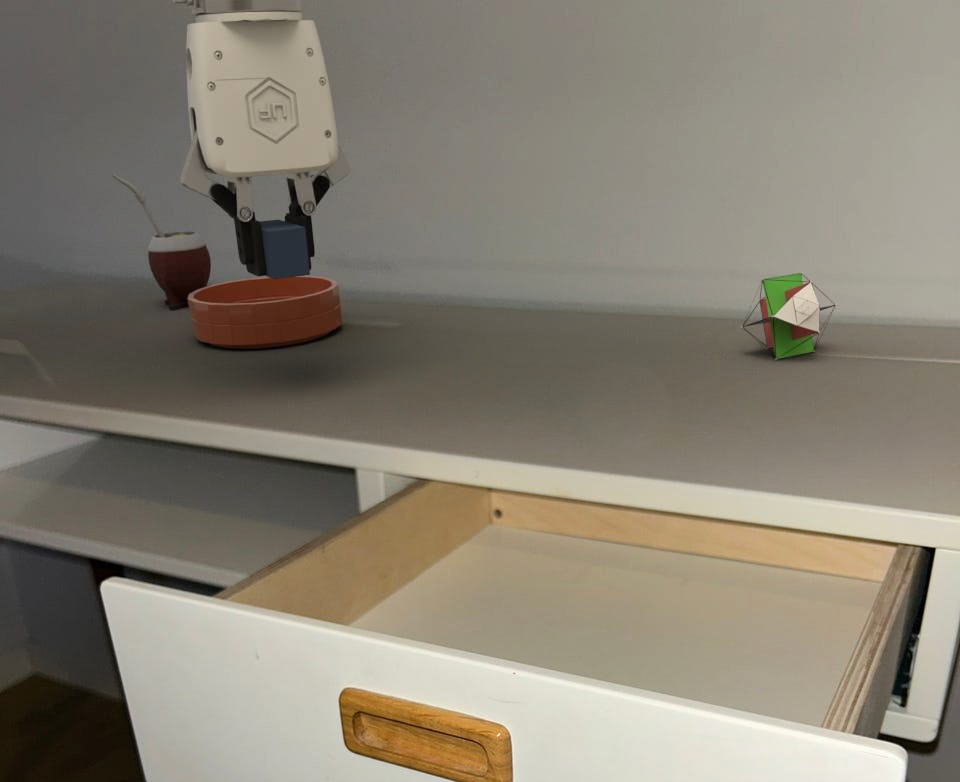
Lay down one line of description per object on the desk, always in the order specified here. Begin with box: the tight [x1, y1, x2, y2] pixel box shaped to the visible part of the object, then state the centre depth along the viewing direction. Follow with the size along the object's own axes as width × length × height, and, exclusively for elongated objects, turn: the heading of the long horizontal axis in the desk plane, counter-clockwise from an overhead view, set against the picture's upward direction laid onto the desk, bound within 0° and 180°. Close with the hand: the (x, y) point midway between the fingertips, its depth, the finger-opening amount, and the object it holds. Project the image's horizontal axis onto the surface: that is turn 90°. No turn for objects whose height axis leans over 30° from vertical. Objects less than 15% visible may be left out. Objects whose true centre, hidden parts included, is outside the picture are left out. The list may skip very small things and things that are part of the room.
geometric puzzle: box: [740, 271, 838, 361], centre depth 91 cm, size 7×7×8 cm
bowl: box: [187, 275, 343, 350], centre depth 111 cm, size 15×15×4 cm
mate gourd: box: [111, 173, 212, 311], centre depth 125 cm, size 8×8×15 cm
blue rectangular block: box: [258, 219, 311, 279], centre depth 83 cm, size 3×6×4 cm, turn 29°
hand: (278, 268), depth 84 cm, fingers closed on blue rectangular block, 3 cm apart
